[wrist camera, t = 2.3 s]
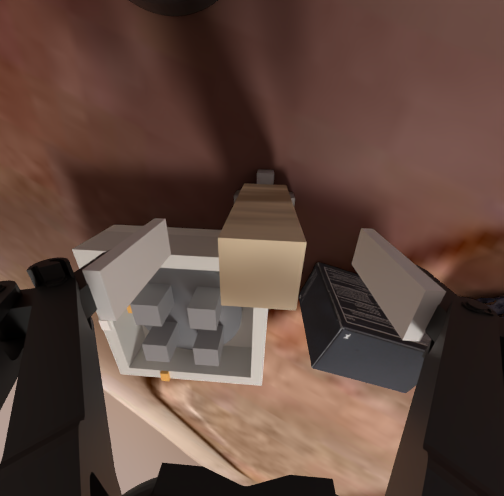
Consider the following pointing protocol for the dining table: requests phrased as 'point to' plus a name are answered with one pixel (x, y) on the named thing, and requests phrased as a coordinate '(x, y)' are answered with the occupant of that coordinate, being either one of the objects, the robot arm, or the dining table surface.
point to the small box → (355, 332)
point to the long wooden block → (261, 247)
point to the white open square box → (182, 362)
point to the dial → (185, 315)
